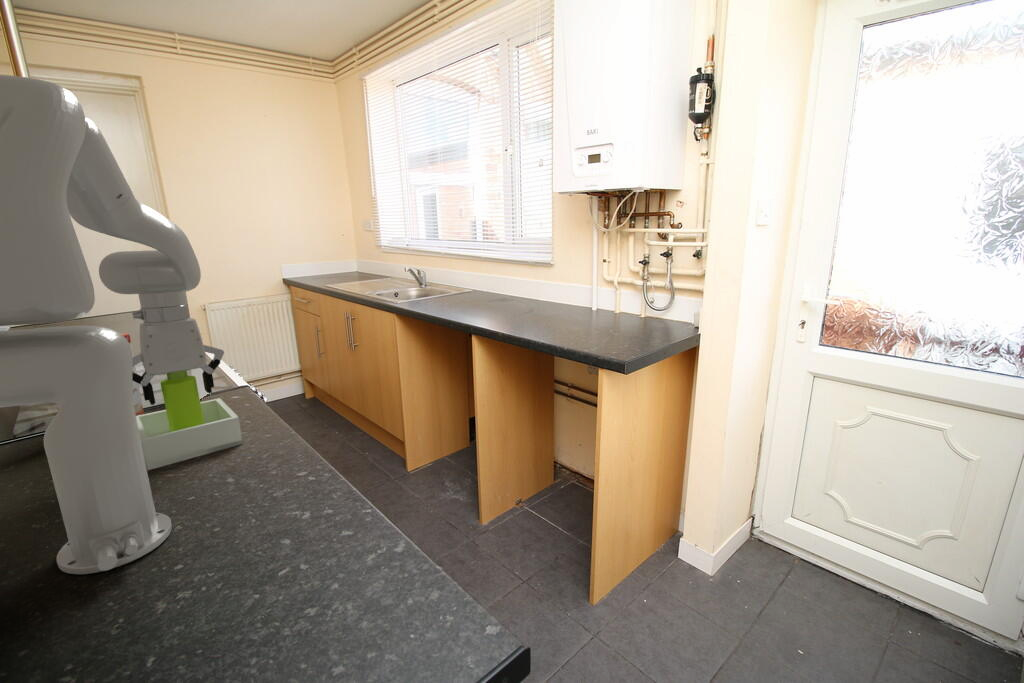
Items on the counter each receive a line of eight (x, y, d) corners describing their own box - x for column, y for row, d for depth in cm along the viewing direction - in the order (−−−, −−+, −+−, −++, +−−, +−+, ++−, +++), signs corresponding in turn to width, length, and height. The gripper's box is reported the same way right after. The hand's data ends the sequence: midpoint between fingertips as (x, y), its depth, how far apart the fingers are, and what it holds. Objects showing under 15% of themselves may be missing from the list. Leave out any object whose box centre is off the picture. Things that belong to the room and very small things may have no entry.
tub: (242, 444, 99) (238, 417, 98) (147, 470, 89) (141, 440, 87) (223, 422, 111) (219, 398, 109) (137, 443, 100) (132, 416, 99)
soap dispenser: (217, 435, 101) (200, 344, 96) (180, 447, 95) (161, 351, 91) (203, 429, 104) (186, 340, 99) (167, 441, 99) (148, 348, 94)
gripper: (111, 323, 85) (129, 413, 89) (221, 311, 96) (233, 391, 100) (108, 318, 90) (125, 403, 94) (212, 307, 102) (224, 383, 106)
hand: (181, 397), depth 97 cm, fingers open, 9 cm apart
